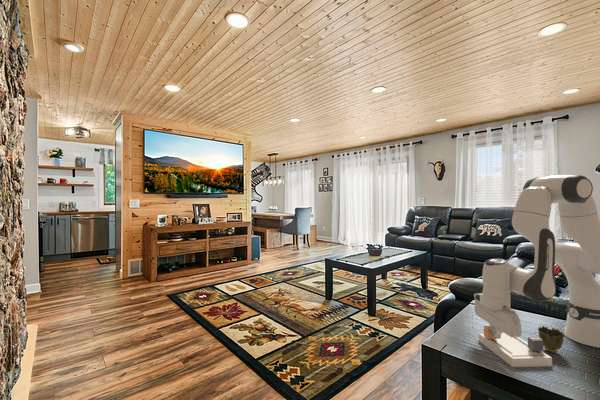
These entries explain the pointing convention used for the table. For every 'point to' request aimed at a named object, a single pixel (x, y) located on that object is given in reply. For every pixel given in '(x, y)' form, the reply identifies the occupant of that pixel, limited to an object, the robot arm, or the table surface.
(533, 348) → the fader
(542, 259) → the robot arm
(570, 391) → the table surface
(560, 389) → the table surface
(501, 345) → the mixer console
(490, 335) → the fader
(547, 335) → the cup
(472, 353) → the table surface
